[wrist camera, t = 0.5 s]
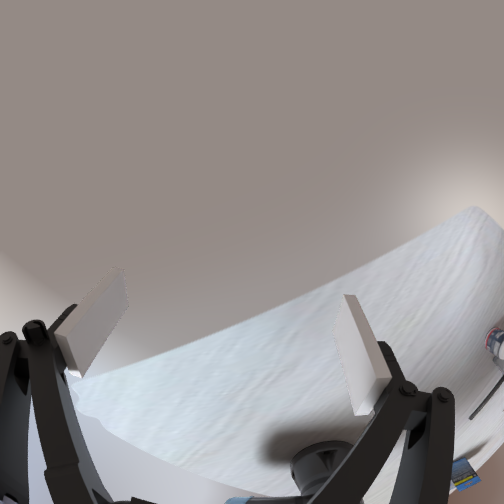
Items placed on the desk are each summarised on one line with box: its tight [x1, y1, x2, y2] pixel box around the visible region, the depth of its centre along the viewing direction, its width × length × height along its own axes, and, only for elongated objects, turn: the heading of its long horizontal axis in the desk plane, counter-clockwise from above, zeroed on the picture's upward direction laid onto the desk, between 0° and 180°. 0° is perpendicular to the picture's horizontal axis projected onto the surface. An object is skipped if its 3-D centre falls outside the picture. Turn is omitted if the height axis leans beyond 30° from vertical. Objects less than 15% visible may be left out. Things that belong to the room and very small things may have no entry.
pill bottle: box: [485, 327, 504, 360], centre depth 38 cm, size 5×5×9 cm
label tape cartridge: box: [450, 457, 481, 492], centre depth 41 cm, size 9×4×12 cm, turn 91°
